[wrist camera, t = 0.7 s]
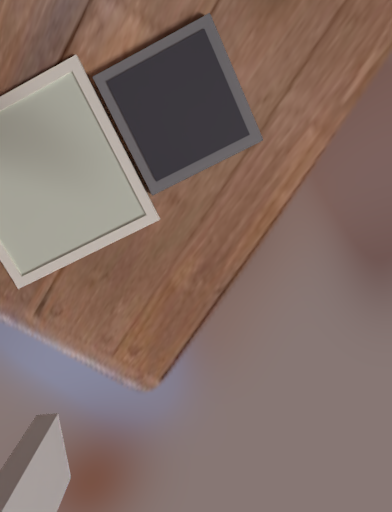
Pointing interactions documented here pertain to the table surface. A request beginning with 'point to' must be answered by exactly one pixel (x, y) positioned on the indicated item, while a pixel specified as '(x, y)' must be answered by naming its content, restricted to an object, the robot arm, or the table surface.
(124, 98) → the ink pad
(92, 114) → the marked square
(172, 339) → the table surface
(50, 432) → the robot arm
